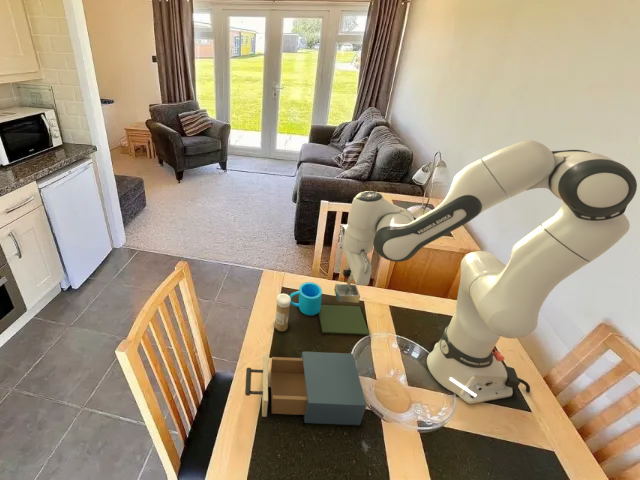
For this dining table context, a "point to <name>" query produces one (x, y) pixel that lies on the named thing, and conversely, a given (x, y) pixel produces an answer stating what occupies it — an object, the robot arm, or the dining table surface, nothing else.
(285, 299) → the sprinkles bottle
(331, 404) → the cabinet
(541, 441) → the dining table surface
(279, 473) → the dining table surface
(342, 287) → the metal tray
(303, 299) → the mug
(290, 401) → the drawer
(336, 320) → the mat
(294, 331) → the dining table surface
